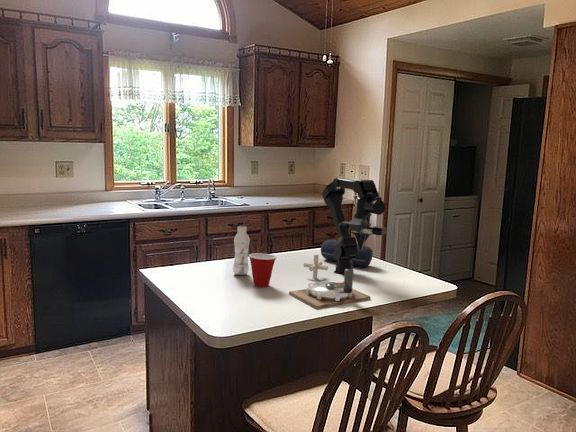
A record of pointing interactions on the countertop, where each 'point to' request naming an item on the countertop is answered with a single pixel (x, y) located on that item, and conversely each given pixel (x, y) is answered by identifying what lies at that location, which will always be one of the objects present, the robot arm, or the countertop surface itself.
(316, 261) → the pipe connector
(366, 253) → the portable speaker
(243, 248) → the plastic bottle
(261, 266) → the plastic cup
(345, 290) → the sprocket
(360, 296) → the base board
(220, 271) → the countertop surface
